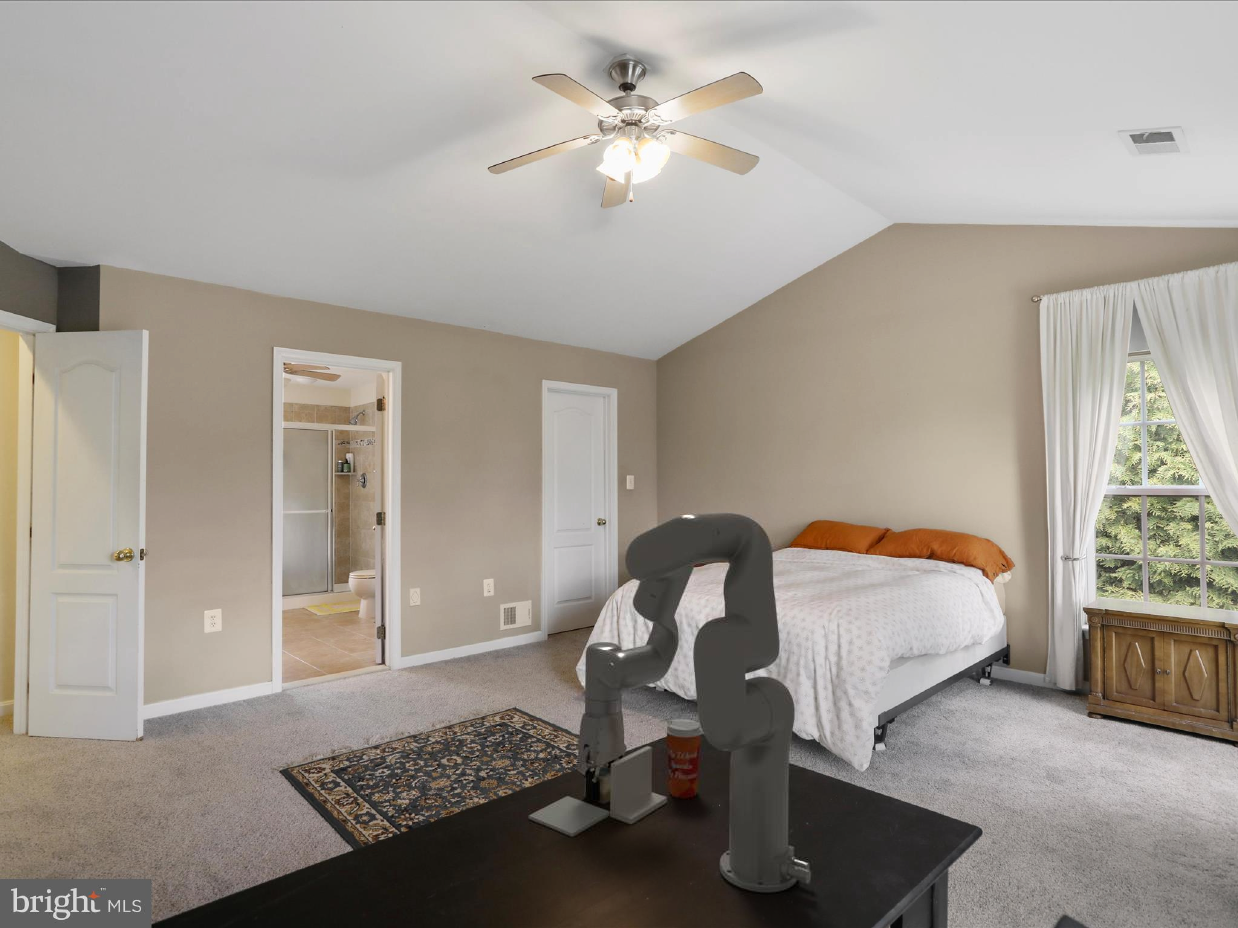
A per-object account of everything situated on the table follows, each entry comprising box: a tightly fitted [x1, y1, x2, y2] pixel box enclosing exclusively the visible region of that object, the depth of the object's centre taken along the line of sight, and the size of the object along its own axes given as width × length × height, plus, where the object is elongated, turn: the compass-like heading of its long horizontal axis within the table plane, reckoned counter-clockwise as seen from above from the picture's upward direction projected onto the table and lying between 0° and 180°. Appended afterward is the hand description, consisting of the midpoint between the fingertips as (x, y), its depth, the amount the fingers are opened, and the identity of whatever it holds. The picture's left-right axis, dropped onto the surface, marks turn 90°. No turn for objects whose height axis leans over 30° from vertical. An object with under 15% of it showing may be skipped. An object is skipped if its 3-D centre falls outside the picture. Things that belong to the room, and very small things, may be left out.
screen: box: [609, 745, 668, 825], centre depth 140 cm, size 5×12×10 cm, turn 142°
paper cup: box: [665, 718, 704, 799], centre depth 148 cm, size 8×8×14 cm
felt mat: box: [528, 795, 610, 838], centre depth 136 cm, size 11×11×1 cm
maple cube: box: [584, 765, 611, 805], centre depth 145 cm, size 5×5×5 cm
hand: (601, 793), depth 145 cm, fingers open, 5 cm apart
